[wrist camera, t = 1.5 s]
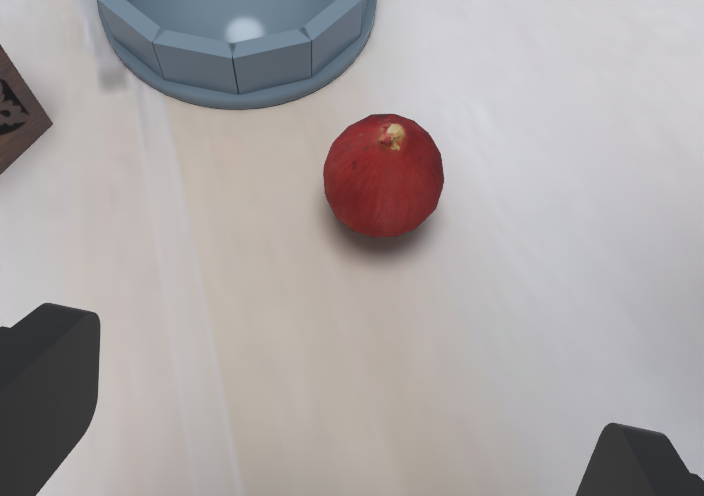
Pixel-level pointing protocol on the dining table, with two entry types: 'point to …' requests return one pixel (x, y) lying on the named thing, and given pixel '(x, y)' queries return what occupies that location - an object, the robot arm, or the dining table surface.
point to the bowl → (237, 46)
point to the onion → (383, 175)
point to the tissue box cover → (17, 114)
